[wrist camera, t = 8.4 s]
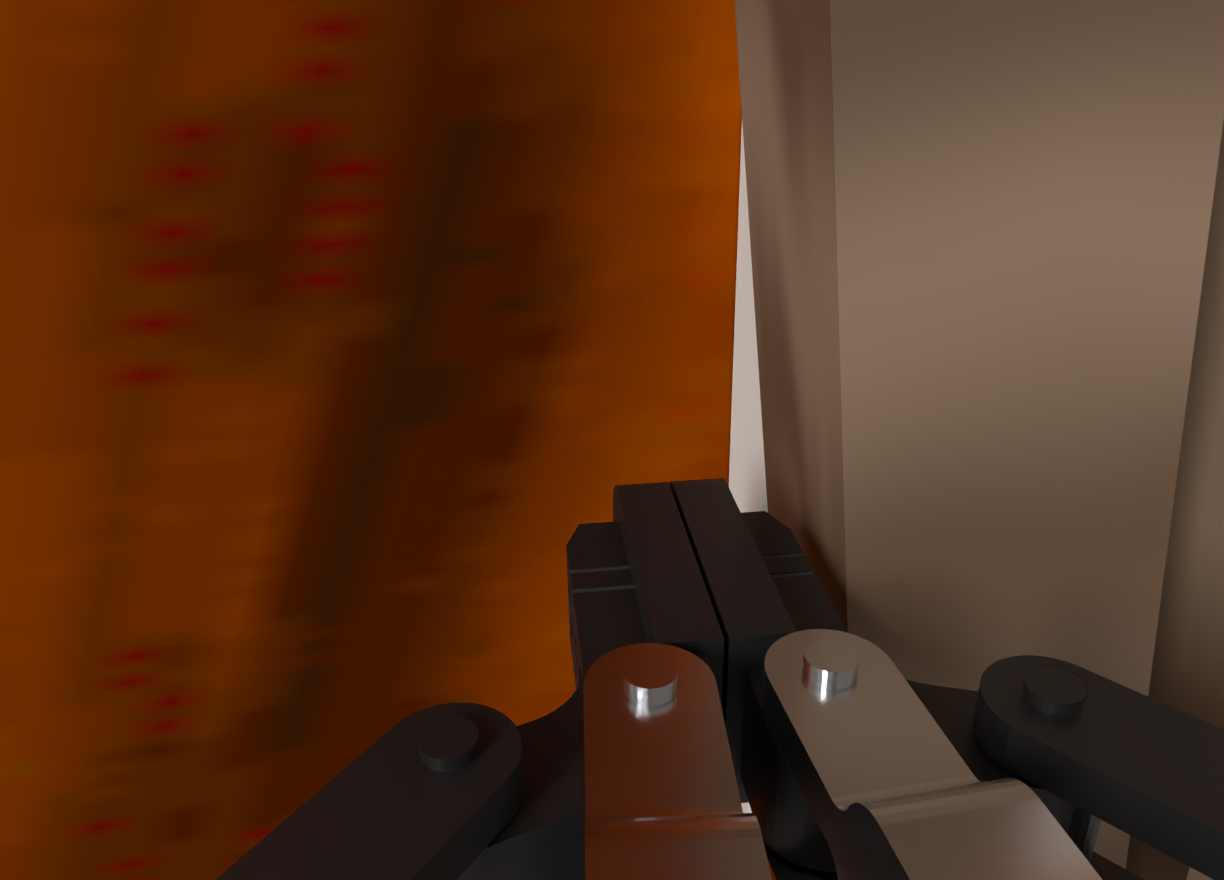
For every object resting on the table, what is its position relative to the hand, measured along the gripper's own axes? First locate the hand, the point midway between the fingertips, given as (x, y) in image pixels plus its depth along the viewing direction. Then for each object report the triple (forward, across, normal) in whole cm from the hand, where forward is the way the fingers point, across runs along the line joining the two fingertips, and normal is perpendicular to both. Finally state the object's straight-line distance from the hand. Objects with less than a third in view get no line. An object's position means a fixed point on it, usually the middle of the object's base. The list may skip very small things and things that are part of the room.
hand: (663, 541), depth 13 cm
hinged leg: (+2, -4, +1) cm, 5 cm away
